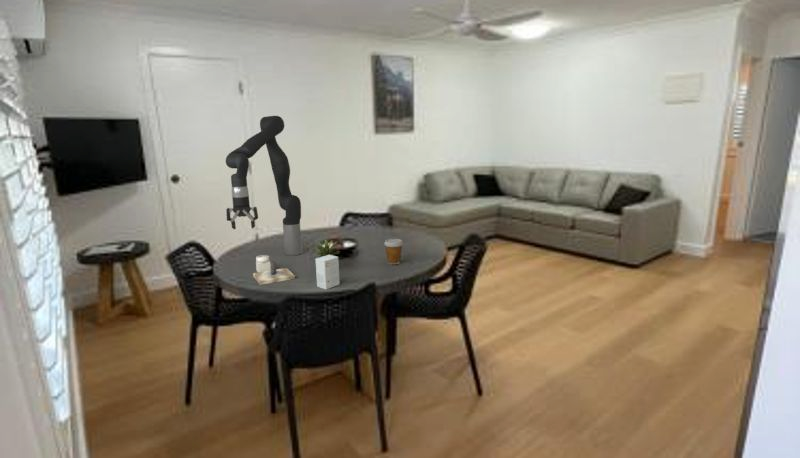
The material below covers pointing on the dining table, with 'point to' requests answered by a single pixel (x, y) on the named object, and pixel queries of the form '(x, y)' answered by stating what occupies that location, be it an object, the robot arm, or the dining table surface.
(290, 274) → the dial board
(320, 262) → the small box
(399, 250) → the disposable coffee cup
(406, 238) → the dining table surface
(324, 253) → the house plant
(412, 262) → the dining table surface
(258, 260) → the knob
